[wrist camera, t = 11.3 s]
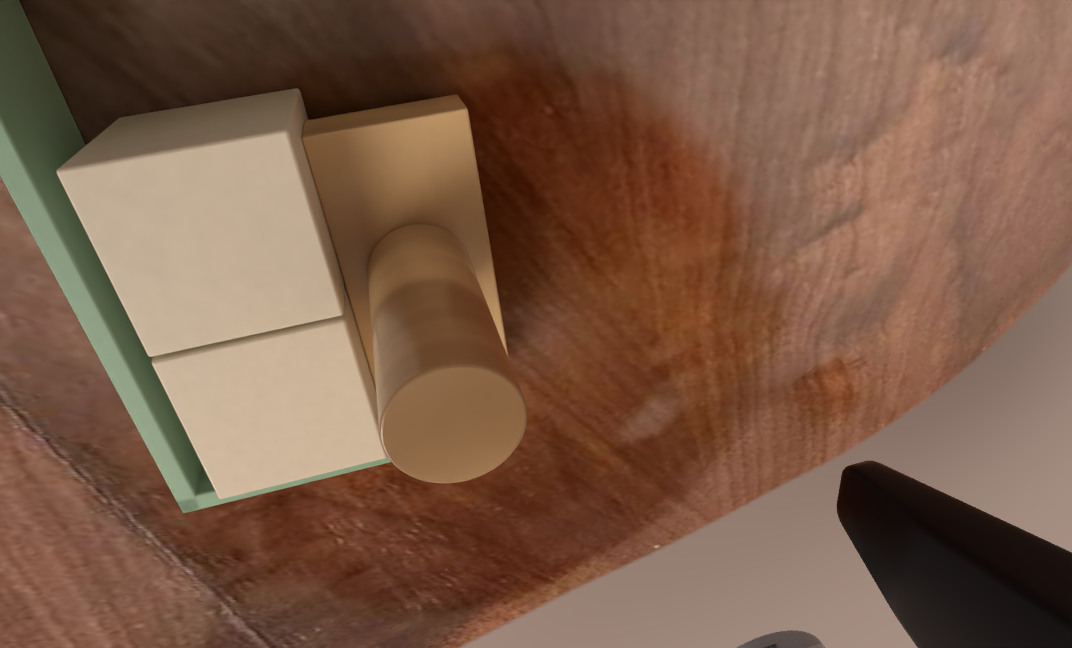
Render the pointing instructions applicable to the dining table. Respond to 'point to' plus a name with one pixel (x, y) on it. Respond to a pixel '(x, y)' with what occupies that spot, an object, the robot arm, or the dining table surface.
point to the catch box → (89, 257)
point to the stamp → (420, 283)
